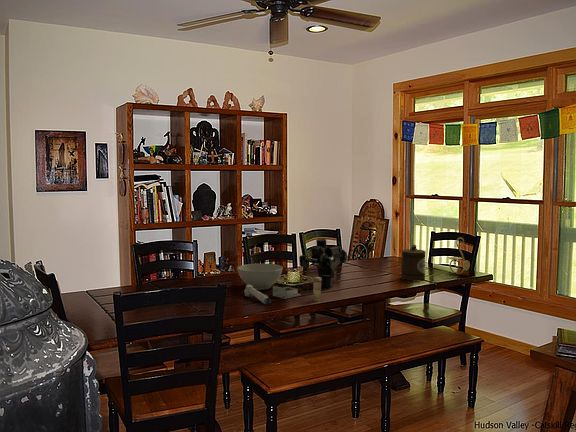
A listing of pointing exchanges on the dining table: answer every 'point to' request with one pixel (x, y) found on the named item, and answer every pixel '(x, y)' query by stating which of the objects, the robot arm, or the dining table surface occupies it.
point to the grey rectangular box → (285, 292)
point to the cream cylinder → (317, 289)
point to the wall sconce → (465, 263)
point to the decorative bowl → (260, 275)
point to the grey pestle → (256, 294)
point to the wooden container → (413, 264)
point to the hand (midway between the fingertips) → (309, 266)
